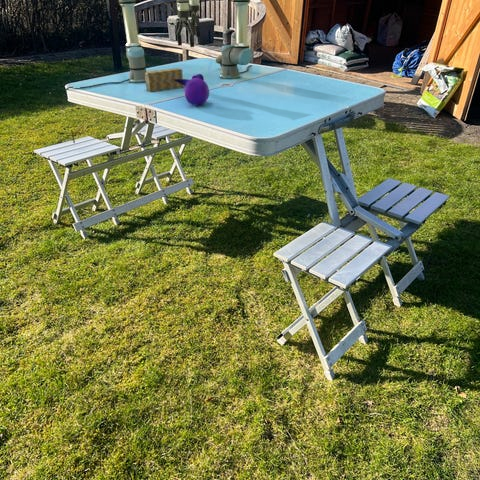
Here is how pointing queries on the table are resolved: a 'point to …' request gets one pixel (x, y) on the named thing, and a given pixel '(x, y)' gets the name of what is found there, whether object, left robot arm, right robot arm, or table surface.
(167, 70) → the box
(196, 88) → the toy
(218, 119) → the table surface
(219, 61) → the teapot
